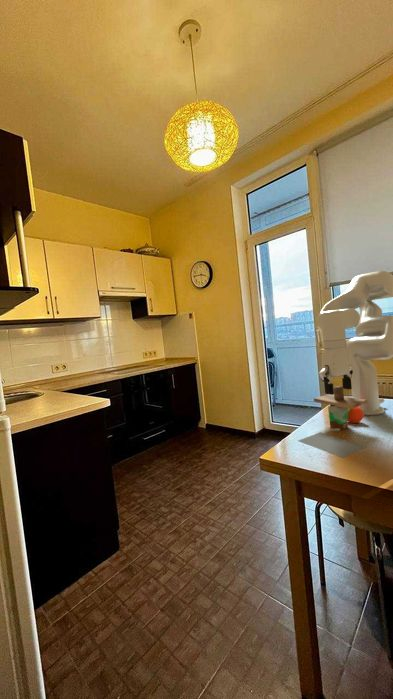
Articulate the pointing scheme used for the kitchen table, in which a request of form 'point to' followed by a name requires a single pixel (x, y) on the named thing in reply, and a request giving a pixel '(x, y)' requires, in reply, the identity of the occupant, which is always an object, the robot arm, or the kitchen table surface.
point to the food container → (337, 418)
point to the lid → (340, 399)
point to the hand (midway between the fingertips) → (338, 391)
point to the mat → (332, 444)
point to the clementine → (354, 415)
